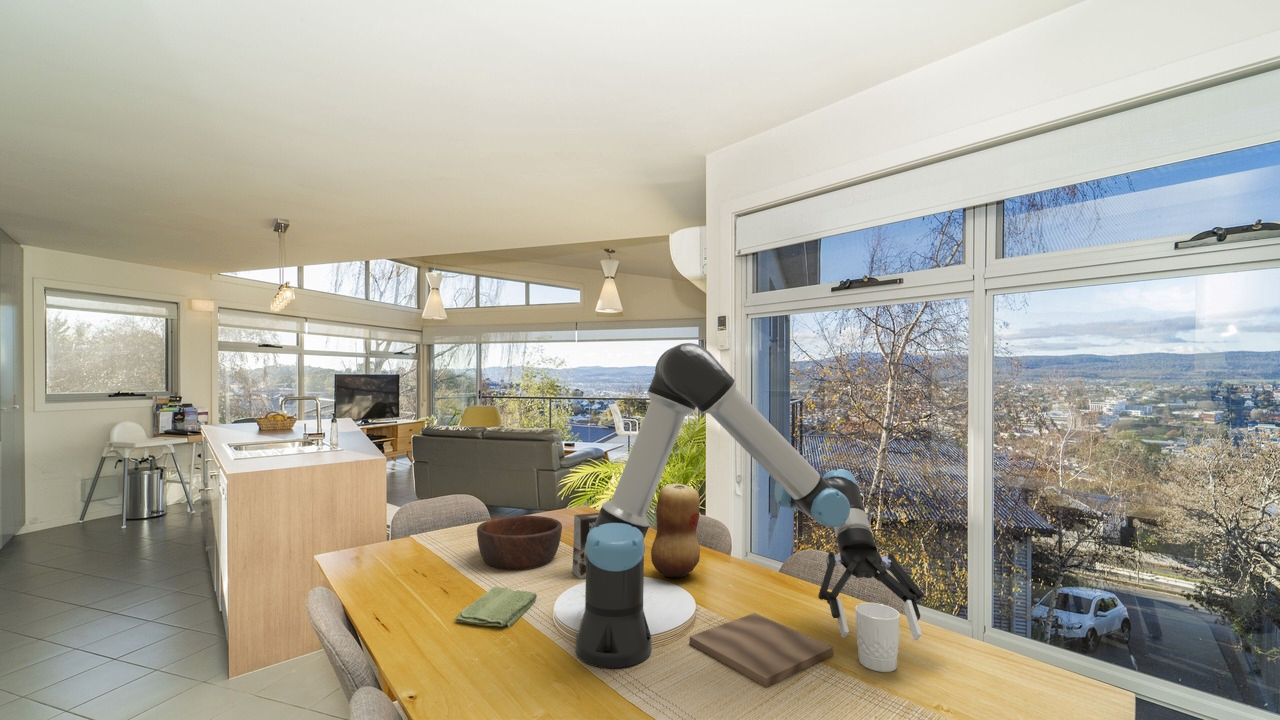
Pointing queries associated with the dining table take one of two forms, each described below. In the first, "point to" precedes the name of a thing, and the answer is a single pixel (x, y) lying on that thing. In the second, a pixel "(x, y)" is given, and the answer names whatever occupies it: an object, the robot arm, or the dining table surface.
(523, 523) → the wooden bowl
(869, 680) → the dining table surface
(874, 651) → the white cup
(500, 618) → the washcloth
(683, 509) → the butternut squash
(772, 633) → the walnut board
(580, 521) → the coffee box
